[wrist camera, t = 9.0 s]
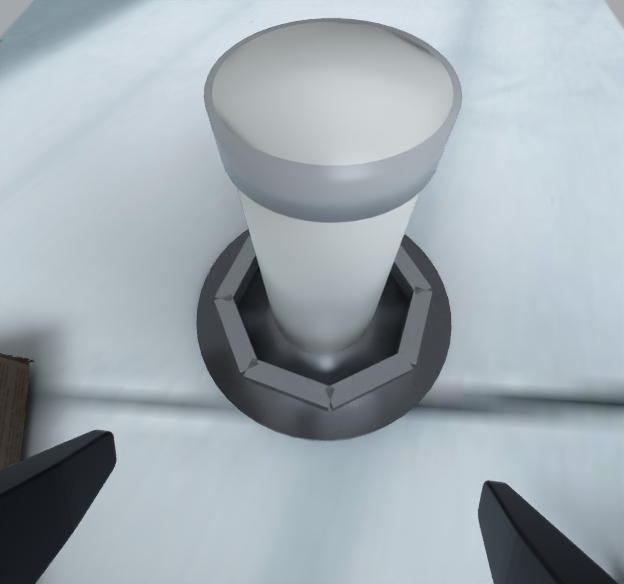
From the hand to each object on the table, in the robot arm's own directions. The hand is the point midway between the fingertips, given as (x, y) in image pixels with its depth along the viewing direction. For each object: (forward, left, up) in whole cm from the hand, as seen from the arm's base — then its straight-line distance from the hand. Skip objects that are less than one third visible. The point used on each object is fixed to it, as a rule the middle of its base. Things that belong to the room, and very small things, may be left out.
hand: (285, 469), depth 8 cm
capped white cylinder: (+5, +7, -9) cm, 13 cm away
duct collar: (+5, +7, -10) cm, 13 cm away
